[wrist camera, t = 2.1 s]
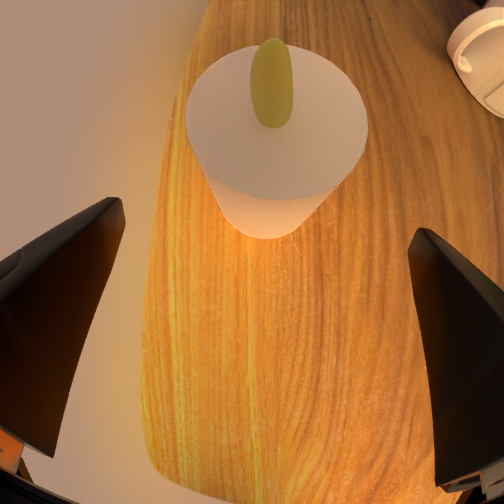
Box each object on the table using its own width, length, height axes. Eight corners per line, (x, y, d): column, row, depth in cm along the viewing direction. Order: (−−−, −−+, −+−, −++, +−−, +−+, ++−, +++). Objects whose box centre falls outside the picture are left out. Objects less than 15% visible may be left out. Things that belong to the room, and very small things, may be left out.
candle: (329, 168, 21) (439, 9, 6) (289, 256, 20) (387, 203, 5) (244, 129, 21) (235, -64, 6) (199, 213, 20) (94, 81, 5)
